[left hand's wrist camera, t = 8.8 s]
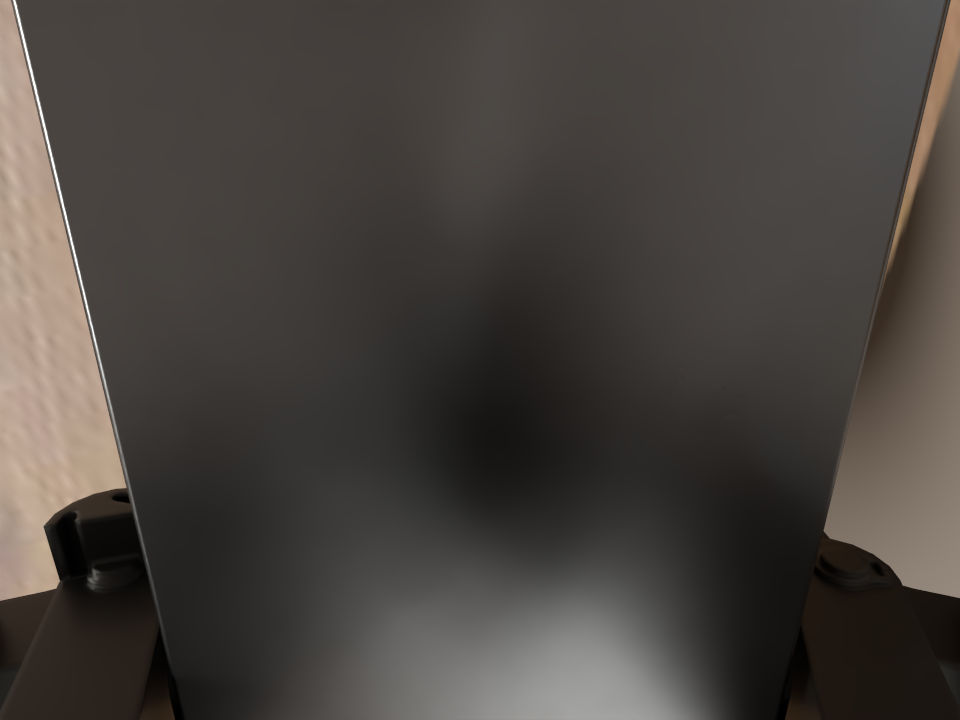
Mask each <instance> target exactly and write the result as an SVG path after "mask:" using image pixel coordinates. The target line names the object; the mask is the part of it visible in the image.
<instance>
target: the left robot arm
mask: <svg viewBox="0 0 960 720" xmlns="http://www.w3.org/2000/svg"><path fill="white" fill-rule="evenodd" d="M44 529H45V533H46V536H47V539H48V543H49V546H50V549H51V553H52V556H53V559H54V562H55V566H56V569H57V572H58V576H59V579H60V582H59V584H58V586H57V589H53V590H49V591H46V592H41V593H36V594H31V595H26V596H22V597H17V598H12V599H7V600H2V601H0V720H182V719H181V715H180V711H179V706H178V702H177V698H176V694H175V689H174V685H173V681H172V677H171V673H170V668H169V664H168V660H167V656H166V651H165V647H164V643H163V639H162V635H161V630H160V626H159V622H158V618H157V613H156V609H155V605H154V601H153V597H152V592H151V588H150V584H149V580H148V575H147V571H146V567H145V563H144V559H143V554H142V550H141V546H140V542H139V538H138V533H137V529H136V525H135V521H134V516H133V512H132V508H131V504H130V500H129V495H128V491H127V488H123V489H114V490H109V491H105V492H101V493H97V494H93V495H91V496H88V497H86V498H83V499H81V500H78V501H76V502H73V503H71V504H70V505H68V506H67V507H65V508H64V509H62V510H60V511H59V512H57V513H56V514H54V515H53V517H52V518H51V519H50V520H49V521H48V522H47V523H46V524H45V525H44ZM778 720H960V598H956V597H951V596H947V595H942V594H937V593H932V592H927V591H922V590H918V589H913V588H909V587H906V586H903V585H902V583H901V581H900V579H899V578H898V577H897V575H896V574H895V573H894V571H893V570H892V569H891V568H890V566H888V565H887V564H886V563H884V562H883V561H882V560H880V559H879V558H877V557H876V556H875V555H873V554H871V553H869V552H867V551H865V550H863V549H861V548H859V547H856V546H854V545H852V544H848V543H844V542H841V541H837V540H833V539H830V538H829V537H828V536H827V535H826V534H825V532H824V531H823V534H822V538H821V543H820V547H819V551H818V555H817V559H816V563H815V568H814V572H813V576H812V580H811V584H810V588H809V593H808V597H807V601H806V605H805V609H804V613H803V618H802V622H801V626H800V630H799V634H798V638H797V643H796V647H795V651H794V655H793V659H792V663H791V668H790V672H789V676H788V680H787V684H786V688H785V693H784V697H783V701H782V705H781V709H780V713H779V718H778Z"/></svg>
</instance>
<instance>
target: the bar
mask: <svg viewBox="0 0 960 720" xmlns="http://www.w3.org/2000/svg"><path fill="white" fill-rule="evenodd" d="M950 1H951V0H11V2H12V6H13V10H14V14H15V19H16V23H17V27H18V31H19V35H20V40H21V44H22V48H23V52H24V56H25V61H26V65H27V69H28V73H29V78H30V82H31V86H32V90H33V94H34V99H35V103H36V107H37V111H38V116H39V120H40V124H41V128H42V132H43V137H44V141H45V145H46V149H47V154H48V158H49V162H50V166H51V170H52V175H53V179H54V183H55V187H56V192H57V196H58V200H59V204H60V208H61V213H62V217H63V221H64V225H65V229H66V234H67V238H68V242H69V246H70V251H71V255H72V259H73V263H74V267H75V272H76V276H77V280H78V284H79V289H80V293H81V297H82V301H83V305H84V310H85V314H86V318H87V322H88V327H89V331H90V335H91V339H92V343H93V348H94V352H95V356H96V360H97V365H98V369H99V373H100V377H101V381H102V386H103V390H104V394H105V398H106V402H107V407H108V411H109V415H110V419H111V424H112V428H113V432H114V436H115V440H116V445H117V449H118V453H119V457H120V462H121V466H122V470H123V474H124V478H125V483H126V487H127V491H128V495H129V500H130V504H131V508H132V512H133V516H134V521H135V525H136V529H137V533H138V538H139V542H140V546H141V550H142V554H143V559H144V563H145V567H146V571H147V575H148V580H149V584H150V588H151V592H152V597H153V601H154V605H155V609H156V613H157V618H158V622H159V626H160V630H161V635H162V639H163V643H164V647H165V651H166V656H167V660H168V664H169V668H170V673H171V677H172V681H173V685H174V689H175V694H176V698H177V702H178V706H179V711H180V715H181V719H182V720H778V718H779V713H780V709H781V705H782V701H783V697H784V693H785V688H786V684H787V680H788V676H789V672H790V668H791V663H792V659H793V655H794V651H795V647H796V643H797V638H798V634H799V630H800V626H801V622H802V618H803V613H804V609H805V605H806V601H807V597H808V593H809V588H810V584H811V580H812V576H813V572H814V568H815V563H816V559H817V555H818V551H819V547H820V543H821V538H822V534H823V530H824V526H825V522H826V517H827V513H828V509H829V505H830V501H831V497H832V492H833V488H834V484H835V480H836V476H837V472H838V468H839V463H840V459H841V455H842V451H843V447H844V443H845V438H846V434H847V430H848V426H849V422H850V418H851V413H852V409H853V405H854V401H855V397H856V393H857V388H858V384H859V380H860V376H861V372H862V368H863V363H864V359H865V355H866V350H867V347H868V342H869V338H870V334H871V330H872V326H873V322H874V317H875V313H876V309H877V305H878V301H879V297H880V293H881V288H882V284H883V280H884V276H885V272H886V268H887V263H888V259H889V255H890V251H891V247H892V243H893V238H894V234H895V230H896V226H897V222H898V218H899V213H900V209H901V205H902V201H903V197H904V193H905V188H906V184H907V180H908V176H909V172H910V168H911V163H912V159H913V155H914V151H915V147H916V143H917V138H918V134H919V130H920V126H921V122H922V118H923V113H924V109H925V105H926V101H927V97H928V93H929V88H930V84H931V80H932V76H933V72H934V68H935V63H936V59H937V55H938V51H939V47H940V43H941V38H942V34H943V30H944V26H945V22H946V17H947V13H948V9H949V5H950Z"/></svg>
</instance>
